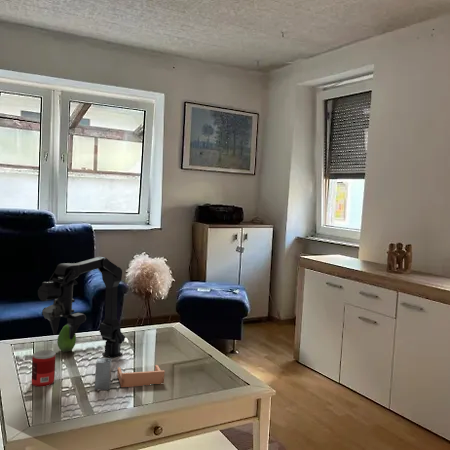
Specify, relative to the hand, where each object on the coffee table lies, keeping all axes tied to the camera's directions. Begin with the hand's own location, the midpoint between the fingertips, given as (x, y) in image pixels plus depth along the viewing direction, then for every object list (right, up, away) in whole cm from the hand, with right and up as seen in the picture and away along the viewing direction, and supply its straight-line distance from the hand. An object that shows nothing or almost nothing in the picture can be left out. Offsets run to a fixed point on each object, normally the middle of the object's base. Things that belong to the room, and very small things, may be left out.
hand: (62, 336), depth 181 cm
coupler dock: (+30, -17, 0) cm, 34 cm away
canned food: (-4, -15, -9) cm, 18 cm away
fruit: (-7, -13, +26) cm, 30 cm away
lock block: (+18, -16, -8) cm, 25 cm away
